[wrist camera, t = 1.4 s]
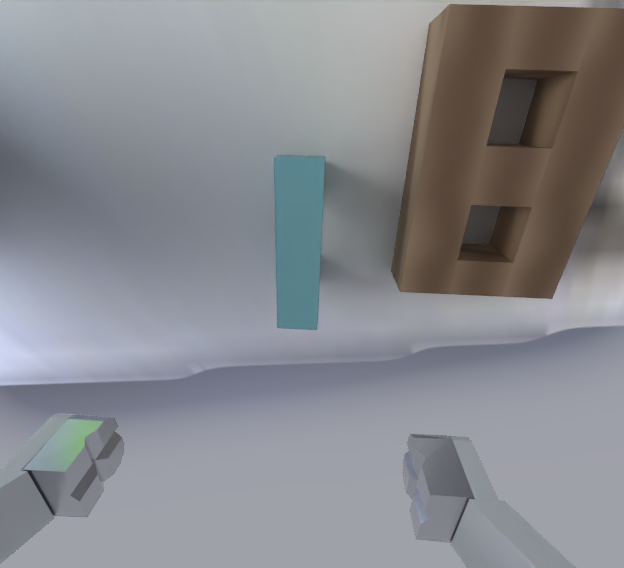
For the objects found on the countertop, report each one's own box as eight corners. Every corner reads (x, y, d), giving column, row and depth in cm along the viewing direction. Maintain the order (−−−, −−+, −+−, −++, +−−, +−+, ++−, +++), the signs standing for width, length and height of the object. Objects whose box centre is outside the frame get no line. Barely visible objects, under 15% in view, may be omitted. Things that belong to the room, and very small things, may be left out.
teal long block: (287, 285, 31) (277, 327, 24) (287, 149, 25) (274, 158, 19) (319, 287, 31) (317, 329, 24) (325, 150, 25) (324, 159, 19)
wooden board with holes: (391, 271, 30) (400, 291, 26) (429, 23, 21) (450, 4, 18) (524, 277, 29) (551, 298, 26) (614, 28, 21) (672, 9, 18)
